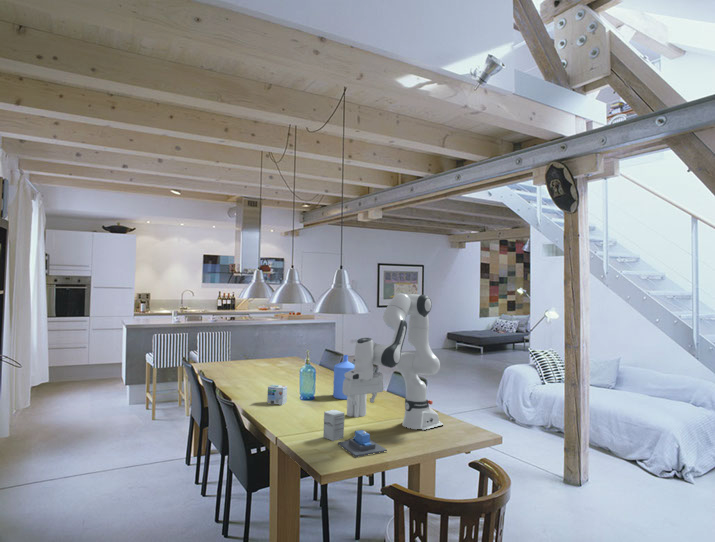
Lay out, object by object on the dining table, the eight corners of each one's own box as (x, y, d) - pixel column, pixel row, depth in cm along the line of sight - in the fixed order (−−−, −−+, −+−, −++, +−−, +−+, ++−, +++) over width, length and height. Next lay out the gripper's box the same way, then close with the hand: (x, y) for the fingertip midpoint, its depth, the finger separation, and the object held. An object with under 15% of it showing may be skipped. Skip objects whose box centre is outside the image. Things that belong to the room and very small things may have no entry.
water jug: (355, 400, 295) (357, 357, 296) (332, 399, 295) (333, 356, 296) (356, 394, 310) (357, 353, 311) (333, 393, 311) (335, 353, 312)
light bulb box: (266, 404, 280) (267, 386, 280) (271, 401, 286) (271, 384, 286) (282, 405, 277) (283, 387, 277) (287, 402, 284) (287, 385, 284)
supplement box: (322, 437, 220) (323, 411, 220) (334, 434, 225) (334, 409, 225) (332, 441, 214) (333, 414, 215) (344, 438, 219) (344, 412, 220)
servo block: (359, 441, 213) (360, 426, 213) (372, 449, 202) (372, 433, 202) (352, 442, 211) (352, 427, 211) (364, 450, 200) (365, 435, 201)
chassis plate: (367, 439, 218) (367, 433, 218) (387, 452, 202) (387, 445, 202) (337, 444, 211) (337, 438, 211) (355, 457, 195) (355, 450, 195)
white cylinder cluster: (362, 412, 265) (363, 378, 266) (368, 416, 259) (369, 381, 260) (345, 414, 260) (346, 380, 261) (350, 418, 254) (351, 382, 255)
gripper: (379, 370, 215) (379, 399, 215) (341, 373, 206) (340, 404, 205) (386, 372, 210) (385, 402, 210) (347, 376, 200) (346, 407, 200)
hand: (363, 403), depth 207 cm, fingers open, 8 cm apart
